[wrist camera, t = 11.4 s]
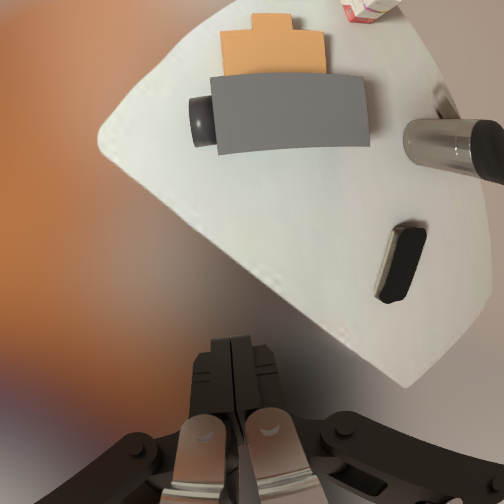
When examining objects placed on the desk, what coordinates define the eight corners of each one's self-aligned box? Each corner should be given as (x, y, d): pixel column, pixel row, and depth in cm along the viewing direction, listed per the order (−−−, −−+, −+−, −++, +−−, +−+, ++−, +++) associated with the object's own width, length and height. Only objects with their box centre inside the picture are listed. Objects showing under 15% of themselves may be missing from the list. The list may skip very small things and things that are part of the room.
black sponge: (390, 220, 47) (401, 225, 44) (420, 226, 49) (430, 232, 45) (368, 295, 53) (376, 304, 50) (397, 296, 54) (405, 304, 51)
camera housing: (335, 89, 38) (362, 77, 28) (340, 145, 41) (370, 146, 32) (193, 96, 36) (185, 81, 27) (200, 157, 40) (193, 158, 31)
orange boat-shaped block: (323, 81, 37) (318, 18, 30) (327, 81, 35) (321, 16, 29) (224, 84, 36) (218, 18, 29) (225, 83, 34) (218, 15, 28)
